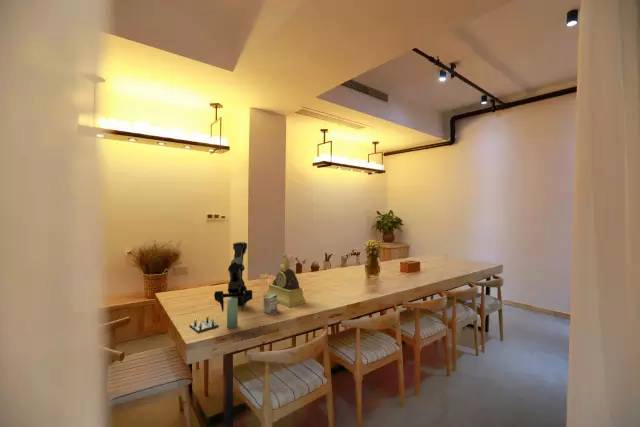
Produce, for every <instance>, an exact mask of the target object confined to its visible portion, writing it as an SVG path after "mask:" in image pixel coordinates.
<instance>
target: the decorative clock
mask: <svg viewBox="0 0 640 427" xmlns="http://www.w3.org/2000/svg"><path fill="white" fill-rule="evenodd" d="M282 257H283V258H282V259H283V260H282V264H279V269H280V270H279V271H278V272H277V273H276V276H275V278H274V279H273V281H272V283H269V284H268V289H267V290H266V292H264V293H263V294H262V296H263V298H265V297H267V296H269V295H271V294H275V295H277V304H278V305H279V304H280V305H282V306H284V307H286V308H287V307H288V308H292V307H296V306H299V305H302V304H306V298H305V296H304V294H303V288H302V287H300V283H299V281H298V278H297V275H296V274H295V272H294V270H292V269H291V268H290V267H291V265H290V264H291V262H290V258H288V255H287V253H284V254H283V255H282Z"/></svg>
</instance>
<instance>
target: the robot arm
mask: <svg viewBox="0 0 640 427" xmlns="http://www.w3.org/2000/svg"><path fill="white" fill-rule="evenodd" d="M232 249H233V250H234V255H233V259H232V260H231V261H230V264H229V266H228V268H227V270H228V274H229V282H228V284H227V292H228V293H224V291H223V290H216V291H215V292H214V294H213V296H214V297H213V298H214V301H216V302H217V303H219V305H220V307H221V312H224V308H225V307H224V306H225V305H224V303H225V301H224V298H230V297H237V298H238V307H241V308H240V309H241V311H243V310H244V308H245V306H246V305H247V303H248V302H250V300H253V290H252V289H248V288H247V287H246V284H245V281H244V279H243V273H244V271H245V269H246V268H245V265H244V256H245V254H246V253H247V249H248V243H247V242H245V241H235V242H234V243H232Z"/></svg>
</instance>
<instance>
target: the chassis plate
mask: <svg viewBox="0 0 640 427" xmlns="http://www.w3.org/2000/svg"><path fill="white" fill-rule="evenodd" d="M205 317H206V319H203V320H202V321H198V322H197V319H196V318H195V319H193V322H194V323H190V324H189V327H190V328H191V329H192V330H194V331H195V332H196V333H197V334H198V333H199V334H200V333H202V332H204V331H208V330H212V329H215V328H218V327H219V324H218V323H217V322H215V321H214V320H215V319H210V318H209V315H206V316H205Z"/></svg>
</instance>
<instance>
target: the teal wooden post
mask: <svg viewBox="0 0 640 427" xmlns="http://www.w3.org/2000/svg"><path fill="white" fill-rule="evenodd" d="M226 307H227V308H226V309H227V310H226V329H229V330H230V329H231V330H233V329H236V328H237V327H238V323H239V322H238V319H239V318H238V316H239V315H238V314H239V312H238V311H239V310H238V309H239V308H238V307H239V306H238V298H237V297H227V302H226Z"/></svg>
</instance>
